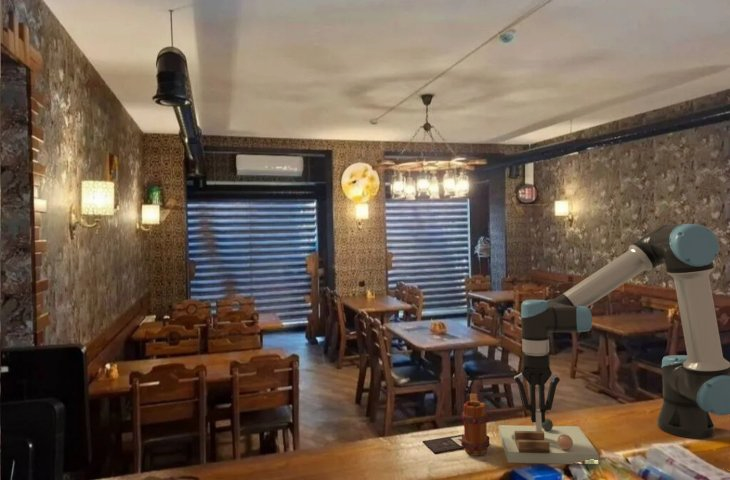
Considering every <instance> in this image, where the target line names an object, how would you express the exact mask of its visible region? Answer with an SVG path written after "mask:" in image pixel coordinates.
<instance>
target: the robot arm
mask: <svg viewBox="0 0 730 480" xmlns="http://www.w3.org/2000/svg"><path fill="white" fill-rule="evenodd" d="M719 252H720V243H719V240H718V237H717V235H716V234H715V233H714V231H712V230H711V229H710V228H708V227H706V226H704V225H702V224H695V223H681V224H665V225H661V226H659V227H657V228H654V229H652V230H651V231H649V232H648V233H647V234H645V235H643V236H642V237H641V238H639V239H638V240H635V242H633V243H632V244H630V245H629V246H628V250H627V251H625V252H624V253H622V254H621V255H619V256H618V257H617V258H615V259H614V260H612V261H611V262H609V263H606V265H605V266H602V268H600V269H598V270H597V271H595V272H593V273H592V274H591V275H589V276H588V277H586V278H585V279H583V280H582V281H580V282H578V283H577V284H575V285H574V286H572V287H571V288H569V289H568V290H566V291H565V292H564V293H562V294H560V295H559V296H558V295H557V297H555V298H551V299H547V300H544V299H526V300H523V301H522V303H521V305H520V306H521V307H520V308H521V309H520V310H521V311H520V319H521V338H522V339H521V343H522V344H521V345H522V346H521V348H522V349H521V350H522V352H523V353H522V369H521V372H520V373H519V374H515V375H514V376H513V379H514V380H515V382H516V383H517V385H518V389H519V393H520V396H521V397H520V398H521V400H522V404H523V406H524V408H525V410H527V411H530V420H531V423H534V426H535V431H542V423H544V422H545V418H546V412H547V411H551V410H552V407H553V403H554V398H555V394H556V389H557V385H558V384H559V382H560V381H561V379H560V378H559V376H558V375H555V374H554V373H553V372H552V370H551V366H550V365H551V364H550V363H551V362H550V361H551V359H550V354H549V353H550V333H553V334H554V333H577V334H578V333H584V332H587V333H588V332H589V331H591V329H592V326H593V315H592V311H591V309H590V308H589V307H590V306H591V305H593V304H595V303H596V302H597V301H599V300H601V299H602V298H604V297H605V296H607V295H609V294H610V293H611V292H613V291H615V290H616V289H618V288H619V287H621V286H622V285H624V284H626V283H627V282H629V281H630V280H631V279H633V278H634V277H636V276H638V275H640V274H641V273H643V272H644V271H652V270H653V269H654V268H655V269H656V267H658V266H662V265H665V269H666V273H667V274H668V275H669V276H671V277H672V279H673V281H674V285H675V292H676V297H677V298H676V299H677V304H678V309H679V316H680V321H681V326H682V327H681V328H682V333H683V339H684V343H685V349H686V355H685V354H683V355H682V354H681V355H679V354H677V355H676V354H674V355H672V354H671V355H665V356H663V358H662V360H661V367H660V368H661V375H662V376H661V378H662V405H661V408H660V411H659V413H658V416H657V427H658V428H659V429H660V430H661V431H663V432H665V433H668V434H670V435H674V436H677V437H683V438H689V439H690V438H691V439H706V438H711V437H713V436H714V435H715V434H716V433H715V424H714V422H713V419H712V417H711V414H712V415H715V416H728V415H730V361H728V360H727V359H726V358H724V356H723V355H724V354H723V350H722V345H721V337H720V332H719V326H718V320H717V314H716V309H715V304H714V299H713V298H714V297H713V293H712V292H713V291H712V287H711V286H712V285H711V280H710V274H711V273H712V272H713V271H714V270H715V266H714V265H715V264H714V261H715V260H716V257H717V256H718V255H719ZM524 379H525V381H527V383H528V385H529V401H528V398H527V395H526V391H525V387H524V384H523V382H524ZM548 381H550V383H549V386H548V392H547V396H546V394H545V392H546V391H545V388H546V387H545V385H546V383H547V382H548ZM536 386H537V387H538V388H537V389H538V407H539V409H537V405H536V399H537V397H536ZM545 396H546V398H545Z"/></svg>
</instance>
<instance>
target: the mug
mask: <svg viewBox="0 0 730 480" xmlns="http://www.w3.org/2000/svg"><path fill="white" fill-rule="evenodd" d="M486 408H487V407H486V404H485V403H484V402H480V401H479V400H478V394H477V393H470V394H469V401H468V400H467V401H466V402H465V403H464V404H463V411H462V412H461V421H463V431H464V433H463V434H464V435H462V434H461V435H462V442H461V444H462V446H464V447H465V449H464V452H465V453H466V454H468V455H472V456H481V455H485V454H486V453H487V452H488V448H489V447H490V446H491V443H490V438H491V437H490V436H489V435H488V434H487V430H488V429H487V422H488V421H489V413H488V412H487V409H486Z"/></svg>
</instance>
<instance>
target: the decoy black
mask: <svg viewBox="0 0 730 480" xmlns="http://www.w3.org/2000/svg"><path fill="white" fill-rule="evenodd" d="M553 426H554V424H553V421H552V420H551V419H549V418H547V417H545V422H544V423H542V428H543V429H544V430H547V431H548V430H551V429H552V427H553Z"/></svg>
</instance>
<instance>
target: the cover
mask: <svg viewBox="0 0 730 480" xmlns="http://www.w3.org/2000/svg"><path fill="white" fill-rule="evenodd" d="M514 432H515V443H516V445H517V448H518V451H519V453H550V448H549V441H548V440H544V432H543V431H514Z"/></svg>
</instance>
